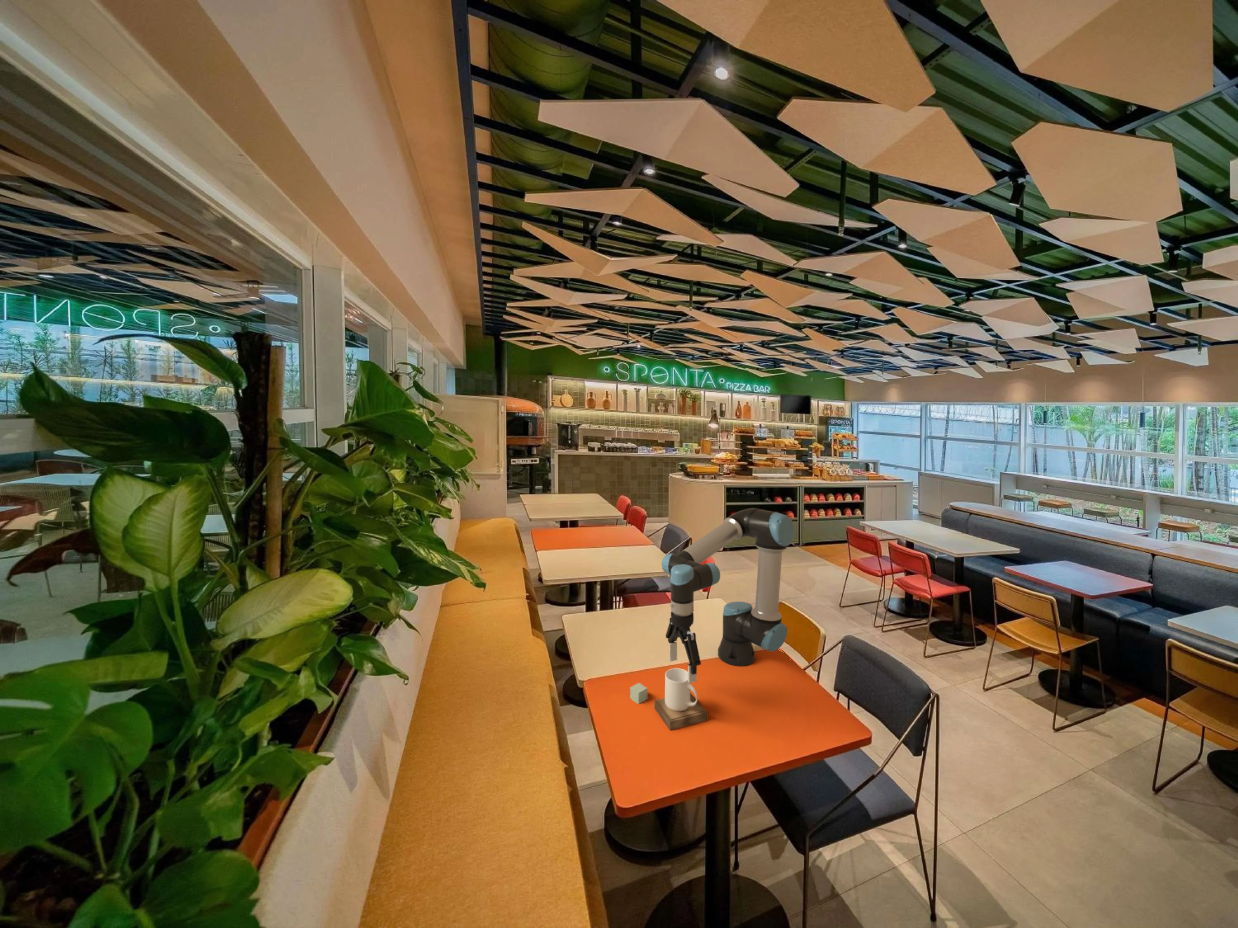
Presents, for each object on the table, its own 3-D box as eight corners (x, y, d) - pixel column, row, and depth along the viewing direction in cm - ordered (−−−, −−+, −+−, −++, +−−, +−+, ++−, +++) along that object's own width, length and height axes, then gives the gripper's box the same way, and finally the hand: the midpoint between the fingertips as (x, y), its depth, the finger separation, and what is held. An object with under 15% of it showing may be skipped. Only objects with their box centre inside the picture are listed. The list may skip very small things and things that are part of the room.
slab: (689, 699, 168) (689, 691, 168) (707, 720, 157) (707, 711, 157) (654, 708, 163) (654, 699, 163) (670, 730, 152) (670, 721, 152)
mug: (689, 719, 152) (690, 689, 151) (659, 704, 160) (660, 675, 159) (703, 707, 159) (704, 677, 158) (673, 693, 167) (674, 665, 165)
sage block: (638, 693, 172) (639, 682, 171) (647, 699, 169) (647, 687, 168) (630, 698, 169) (630, 687, 169) (638, 704, 166) (638, 692, 165)
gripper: (656, 598, 166) (656, 654, 169) (690, 630, 143) (690, 694, 146) (674, 595, 169) (675, 650, 172) (712, 625, 146) (711, 688, 148)
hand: (682, 670), depth 159 cm, fingers open, 13 cm apart
